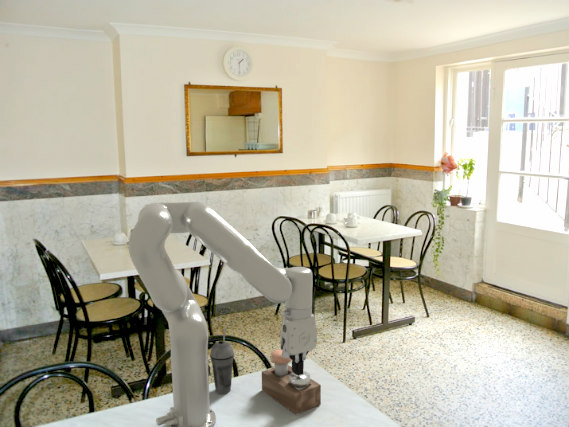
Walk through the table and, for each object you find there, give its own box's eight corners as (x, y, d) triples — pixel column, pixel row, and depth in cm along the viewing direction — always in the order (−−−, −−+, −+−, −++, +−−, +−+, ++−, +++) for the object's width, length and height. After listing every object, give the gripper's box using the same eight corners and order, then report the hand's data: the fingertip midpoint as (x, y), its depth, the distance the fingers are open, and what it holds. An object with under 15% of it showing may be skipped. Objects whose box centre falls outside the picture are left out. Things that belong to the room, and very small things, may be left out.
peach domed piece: (279, 383, 145) (278, 359, 144) (267, 376, 150) (267, 352, 149) (295, 377, 149) (295, 354, 147) (283, 370, 153) (283, 347, 152)
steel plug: (297, 408, 138) (297, 383, 137) (285, 399, 143) (284, 374, 142) (314, 401, 142) (314, 376, 141) (301, 392, 147) (301, 369, 146)
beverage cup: (208, 387, 152) (205, 325, 149) (230, 382, 155) (228, 321, 152) (215, 398, 146) (212, 334, 143) (238, 393, 149) (236, 330, 146)
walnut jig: (295, 414, 137) (295, 394, 136) (261, 390, 150) (261, 371, 150) (320, 404, 142) (320, 384, 141) (285, 381, 156) (285, 363, 155)
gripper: (284, 320, 131) (284, 385, 134) (327, 310, 140) (326, 371, 142) (268, 312, 137) (268, 375, 140) (310, 302, 146) (309, 361, 148)
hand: (297, 373), depth 141 cm, fingers closed
